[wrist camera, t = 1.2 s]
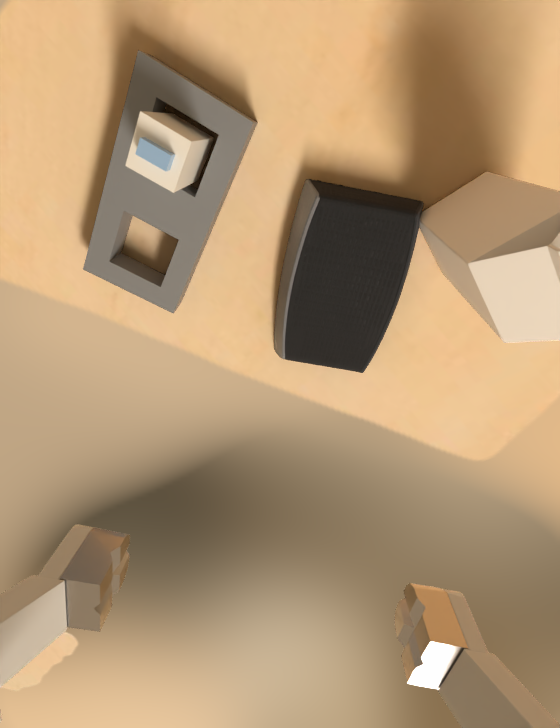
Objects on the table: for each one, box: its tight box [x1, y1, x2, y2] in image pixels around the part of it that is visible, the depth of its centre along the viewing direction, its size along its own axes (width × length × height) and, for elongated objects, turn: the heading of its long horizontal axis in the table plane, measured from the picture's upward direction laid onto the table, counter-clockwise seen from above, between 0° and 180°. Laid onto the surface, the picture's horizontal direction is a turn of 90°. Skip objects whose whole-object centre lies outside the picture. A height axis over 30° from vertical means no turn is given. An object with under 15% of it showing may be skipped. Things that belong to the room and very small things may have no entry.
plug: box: [125, 111, 214, 193], centre depth 32 cm, size 4×4×9 cm
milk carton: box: [419, 172, 560, 343], centre depth 30 cm, size 7×7×19 cm
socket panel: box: [83, 50, 258, 313], centre depth 37 cm, size 20×10×3 cm, turn 152°
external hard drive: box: [274, 179, 424, 373], centre depth 40 cm, size 13×19×4 cm
